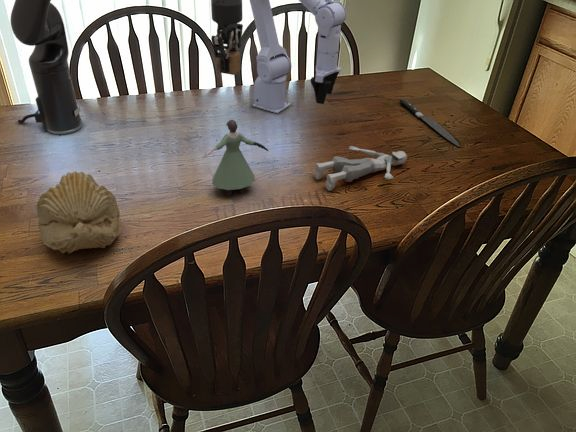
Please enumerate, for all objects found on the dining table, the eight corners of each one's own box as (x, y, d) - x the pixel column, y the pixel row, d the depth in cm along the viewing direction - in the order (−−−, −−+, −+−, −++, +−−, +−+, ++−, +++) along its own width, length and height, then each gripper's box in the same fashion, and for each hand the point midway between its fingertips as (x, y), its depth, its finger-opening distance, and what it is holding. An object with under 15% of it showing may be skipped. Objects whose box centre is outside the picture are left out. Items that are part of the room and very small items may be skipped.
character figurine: (262, 174, 124) (263, 106, 114) (275, 191, 118) (277, 121, 108) (200, 186, 119) (194, 116, 108) (210, 205, 113) (205, 133, 102)
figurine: (340, 203, 116) (425, 179, 125) (342, 185, 112) (429, 162, 122) (304, 167, 128) (384, 148, 138) (305, 150, 125) (387, 131, 134)
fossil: (46, 277, 92) (24, 211, 83) (42, 224, 105) (23, 162, 96) (130, 258, 97) (117, 194, 89) (117, 209, 110) (105, 149, 101)
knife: (466, 148, 141) (467, 144, 140) (454, 149, 140) (456, 144, 139) (407, 101, 165) (409, 97, 164) (397, 101, 163) (398, 97, 163)
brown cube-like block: (217, 72, 130) (216, 54, 128) (224, 67, 134) (223, 49, 131) (234, 75, 129) (233, 57, 126) (240, 69, 132) (240, 52, 130)
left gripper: (228, 8, 115) (230, 81, 125) (252, -4, 126) (252, 63, 136) (198, 5, 116) (203, 76, 127) (225, -8, 127) (227, 59, 138)
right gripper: (335, 61, 129) (330, 110, 137) (348, 45, 140) (343, 91, 148) (309, 57, 130) (306, 105, 138) (324, 41, 142) (320, 87, 150)
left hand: (228, 69), depth 131 cm, fingers closed on brown cube-like block, 4 cm apart
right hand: (323, 98), depth 143 cm, fingers open, 7 cm apart
